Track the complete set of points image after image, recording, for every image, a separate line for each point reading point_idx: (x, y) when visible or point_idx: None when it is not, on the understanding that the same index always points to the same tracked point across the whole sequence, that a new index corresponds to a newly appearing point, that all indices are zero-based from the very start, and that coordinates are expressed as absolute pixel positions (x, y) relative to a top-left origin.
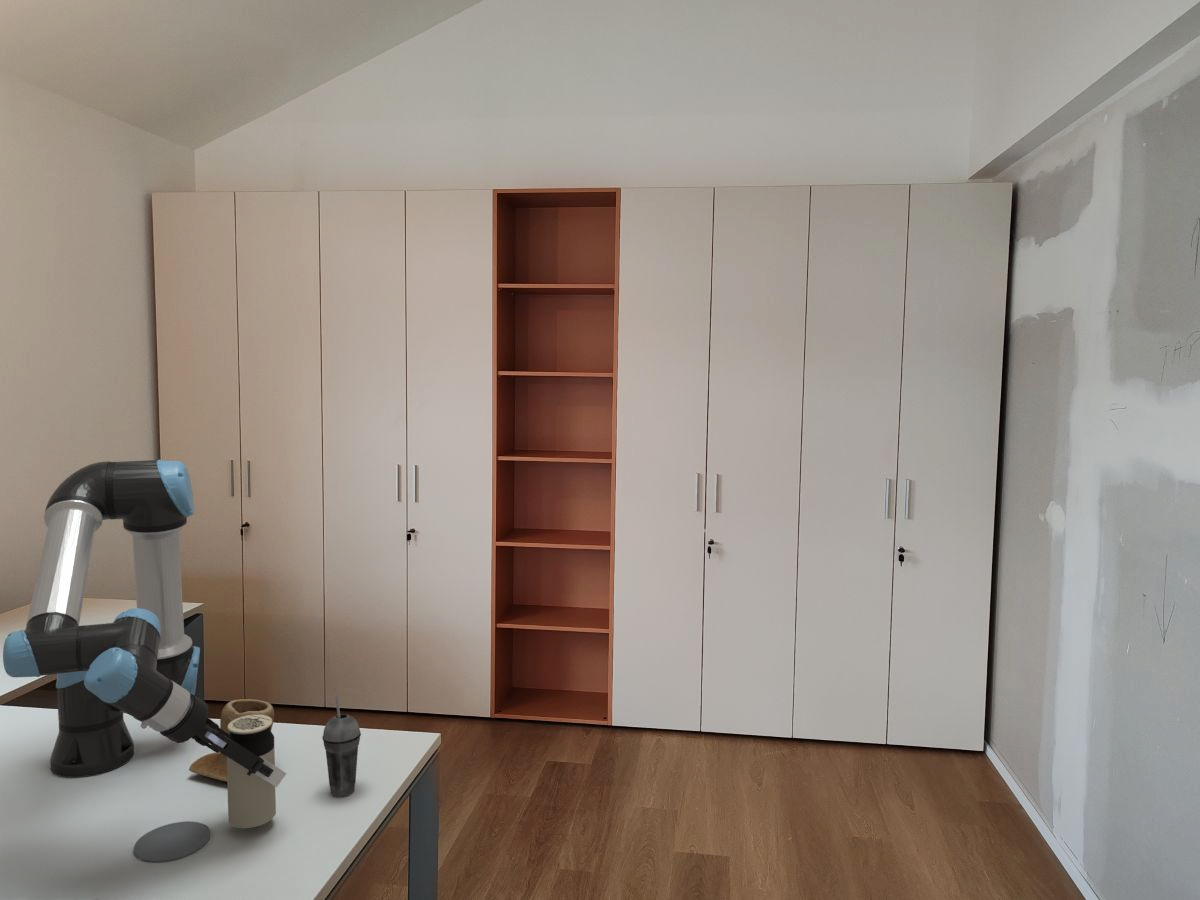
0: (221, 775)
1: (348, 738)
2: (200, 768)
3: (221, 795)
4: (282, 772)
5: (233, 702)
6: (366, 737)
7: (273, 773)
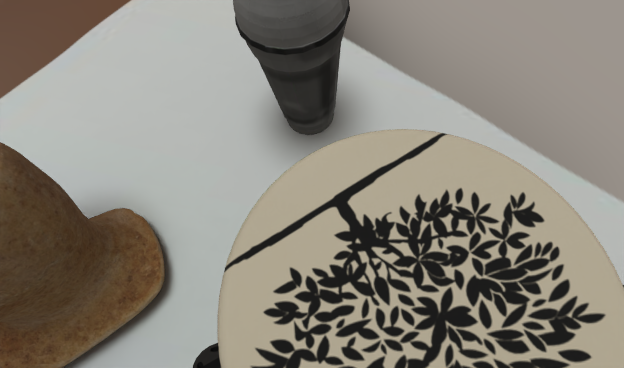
0: (90, 338)
1: None
2: None
3: (157, 347)
4: None
5: None
6: (124, 34)
7: None
